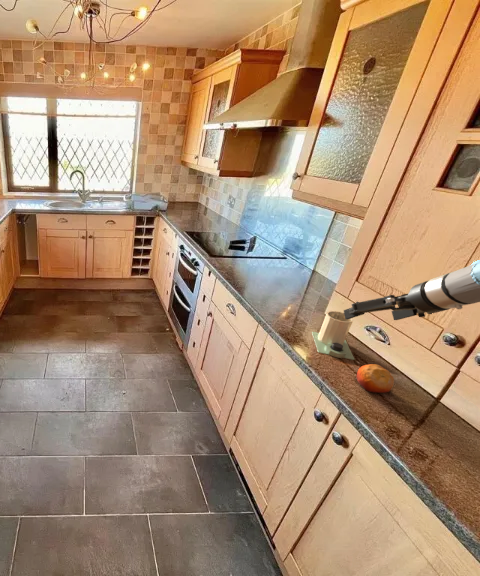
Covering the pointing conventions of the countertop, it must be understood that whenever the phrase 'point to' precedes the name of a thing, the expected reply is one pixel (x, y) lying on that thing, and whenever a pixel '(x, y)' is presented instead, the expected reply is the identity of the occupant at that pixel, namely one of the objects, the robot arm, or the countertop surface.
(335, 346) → the tare button
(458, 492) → the countertop surface
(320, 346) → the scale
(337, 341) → the cup
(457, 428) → the countertop surface
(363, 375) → the fruit
